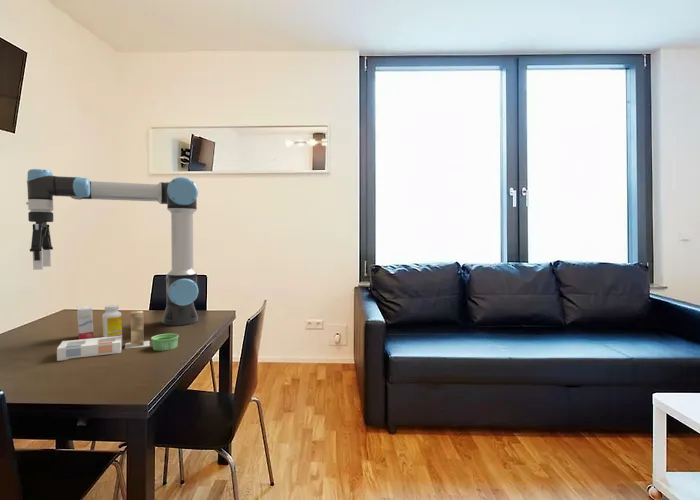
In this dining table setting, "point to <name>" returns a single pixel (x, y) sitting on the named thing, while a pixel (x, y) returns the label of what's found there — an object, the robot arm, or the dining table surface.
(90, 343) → the socket board
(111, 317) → the supplement bottle
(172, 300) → the robot arm
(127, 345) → the mat
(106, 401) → the dining table surface
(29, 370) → the dining table surface
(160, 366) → the dining table surface
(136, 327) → the oak peg
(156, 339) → the ramekin
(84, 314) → the ink box
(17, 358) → the dining table surface
